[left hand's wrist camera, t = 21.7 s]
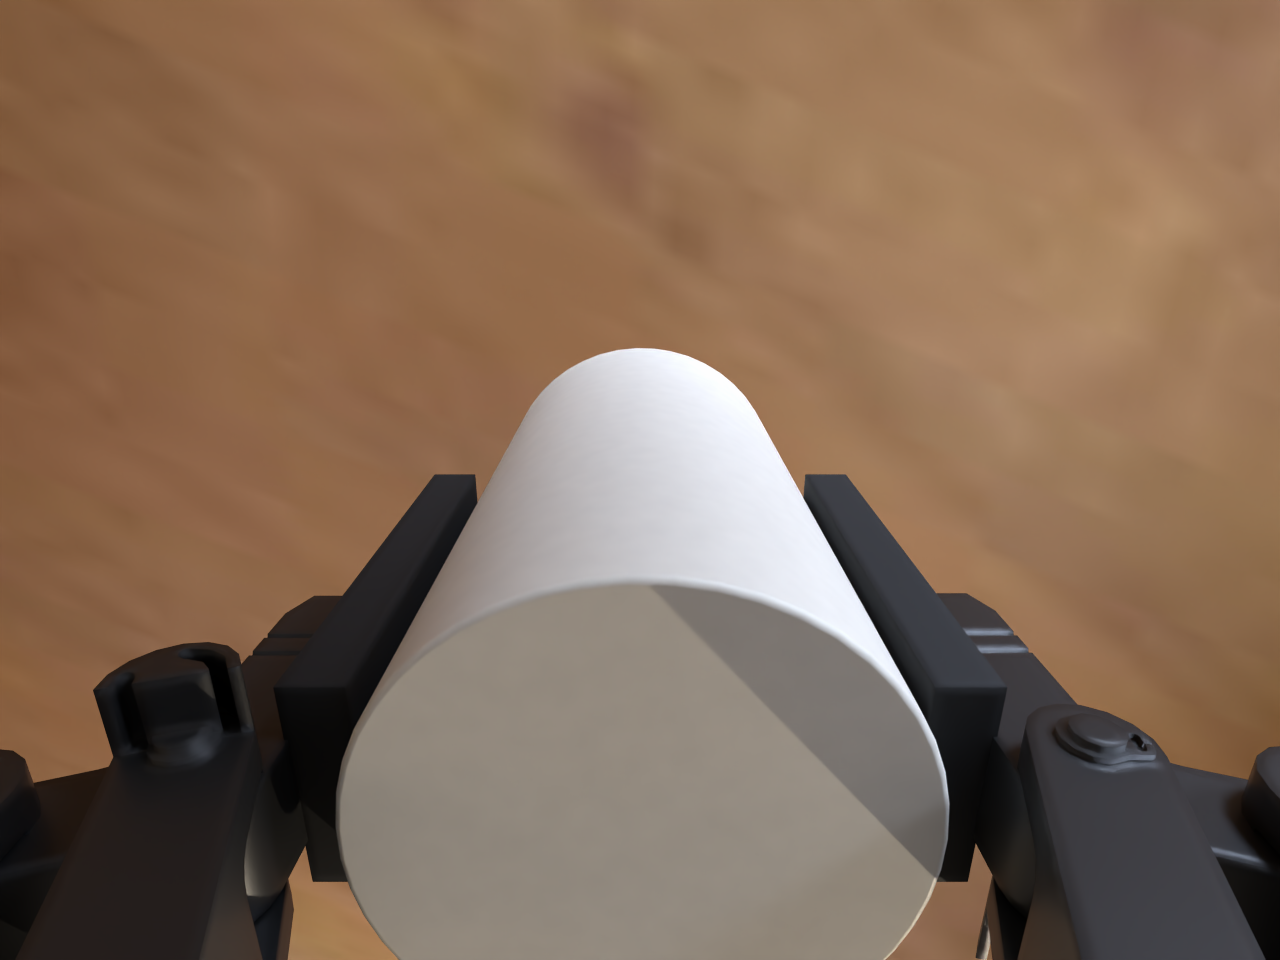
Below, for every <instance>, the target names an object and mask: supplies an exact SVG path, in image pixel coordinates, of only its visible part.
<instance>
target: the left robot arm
mask: <svg viewBox="0 0 1280 960" xmlns="http://www.w3.org/2000/svg"><path fill="white" fill-rule="evenodd" d="M803 499H804V500H805V502H806V504H807V506H808V508H809V509H810V511H811V513H812V515H813V517H814V518H815V520H816V522H817V524H818V526H819V527H820V529H821V531H822V533H823V535H824V536H825V538H826V540H827V542H828V544H829V545H830V547H831V549H832V551H833V553H834V555H835V556H836V558H837V560H838V562H839V564H840V565H841V567H842V569H843V571H844V573H845V574H846V576H847V578H848V580H849V582H850V583H851V585H852V587H853V589H854V591H855V592H856V594H857V596H858V598H859V600H860V601H861V603H862V605H863V607H864V609H865V610H866V612H867V614H868V616H869V618H870V619H871V621H872V623H873V625H874V627H875V629H876V630H877V632H878V634H879V636H880V638H881V639H882V641H883V643H884V645H885V647H886V648H887V650H888V652H889V654H890V656H891V657H892V659H893V661H894V663H895V665H896V666H897V668H898V670H899V672H900V674H901V675H902V677H903V679H904V681H905V683H906V684H907V686H908V688H909V690H910V692H911V693H912V695H913V697H914V699H915V701H916V702H917V704H918V706H919V708H920V710H921V712H922V714H923V716H924V718H925V720H926V722H927V724H928V726H929V728H930V730H931V732H932V734H933V736H934V738H935V740H936V743H937V746H938V749H939V752H940V756H941V759H942V762H943V766H944V769H945V772H946V780H947V788H948V796H949V824H948V841H947V845H946V850H945V855H944V859H943V864H942V868H941V871H940V874H939V877H938V879H937V882H968V878H969V873H970V868H971V863H972V858H973V853H974V848H975V843H976V844H977V846H978V848H979V850H980V852H981V854H982V856H983V858H984V860H985V861H986V863H987V865H988V867H989V869H990V871H991V873H992V875H993V876H992V880H991V885H990V889H989V894H988V898H987V903H986V907H985V912H984V917H983V921H982V926H981V930H980V935H979V939H978V945H977V952H976V958H978V959H982V960H987V955H988V951H989V946H990V944H991V950H992V958H993V960H1280V746H1279V747H1269V748H1267V749H1266V750H1265V751H1263V752H1262V753H1260V754H1259V755H1257V757H1256V760H1255V763H1254V766H1253V768H1252V771H1251V774H1250V777H1249V780H1246V779H1241V778H1237V777H1232V776H1227V775H1222V774H1217V773H1212V772H1208V771H1203V770H1198V769H1193V768H1188V767H1183V766H1180V765H1176V764H1172V763H1170V762H1169V760H1168V758H1167V756H1166V755H1165V753H1164V752H1163V751H1162V750H1161V748H1160V747H1159V746H1158V744H1157V743H1156V742H1155V741H1154V739H1152V738H1151V737H1150V736H1148V735H1147V734H1145V733H1144V732H1143V731H1141V730H1140V729H1139V728H1137V727H1136V726H1134V725H1133V724H1131V723H1129V722H1127V721H1125V720H1123V719H1120V718H1118V717H1116V716H1114V715H1112V714H1110V713H1107V712H1104V711H1100V710H1097V709H1093V708H1089V707H1086V706H1082V705H1077V704H1076V703H1075V701H1074V700H1073V699H1072V698H1071V697H1070V696H1069V695H1068V693H1067V692H1066V691H1065V690H1064V689H1063V688H1062V687H1061V685H1060V684H1059V683H1058V682H1057V681H1056V680H1055V679H1054V677H1053V676H1052V675H1051V674H1050V673H1049V672H1048V671H1047V669H1046V668H1045V667H1044V666H1043V665H1042V664H1041V663H1040V661H1039V660H1038V659H1037V658H1036V657H1035V656H1034V655H1033V653H1029V652H1028V648H1027V646H1026V645H1025V644H1024V643H1023V642H1022V641H1021V640H1020V638H1019V637H1018V636H1014V634H1013V630H1012V629H1011V628H1010V627H1009V626H1008V625H1007V624H1006V622H1005V621H1004V620H1003V619H1002V618H1001V617H1000V616H999V614H998V613H997V612H996V611H995V610H993V609H991V608H990V607H988V606H986V605H985V604H983V603H981V602H980V601H978V600H977V599H975V598H973V597H972V596H970V595H968V594H967V593H935V591H934V590H933V589H932V587H931V586H930V585H929V583H928V582H927V581H926V580H925V578H924V577H923V576H922V574H921V573H920V572H919V570H918V569H917V568H916V566H915V565H914V564H913V562H912V561H911V560H910V558H909V557H908V556H907V555H906V553H905V552H904V551H903V549H902V548H901V547H900V545H899V544H898V543H897V541H896V540H895V539H894V537H893V536H892V535H891V533H890V532H889V531H888V530H887V528H886V527H885V526H884V524H883V523H882V522H881V520H880V519H879V518H878V516H877V515H876V514H875V512H874V511H873V510H872V508H871V507H870V506H869V505H868V503H867V502H866V501H865V499H864V498H863V497H862V495H861V494H860V493H859V491H858V490H857V489H856V487H855V486H854V485H853V483H852V482H851V481H850V480H849V478H848V477H847V476H846V475H805V486H804V498H803ZM476 505H477V491H476V479H475V475H434V476H433V478H432V479H431V480H430V482H429V483H428V484H427V486H426V487H425V488H424V489H423V491H422V492H421V493H420V495H419V496H418V497H417V499H416V500H415V501H414V503H413V504H412V505H411V507H410V508H409V509H408V511H407V512H406V513H405V514H404V516H403V517H402V518H401V520H400V521H399V522H398V524H397V525H396V526H395V528H394V529H393V530H392V532H391V533H390V534H389V536H388V537H387V538H386V539H385V541H384V542H383V543H382V545H381V546H380V547H379V549H378V550H377V551H376V553H375V554H374V555H373V557H372V558H371V559H370V561H369V562H368V563H367V564H366V566H365V567H364V568H363V570H362V571H361V572H360V574H359V575H358V576H357V578H356V579H355V580H354V582H353V583H352V584H351V586H350V587H349V588H348V589H347V591H346V592H345V593H344V595H343V596H313V597H312V598H310V599H308V600H307V601H305V602H304V603H302V604H300V605H299V606H297V607H295V608H294V609H292V610H290V611H289V612H287V613H286V614H285V615H284V616H283V617H282V618H281V619H280V620H279V622H278V623H277V624H276V625H275V626H274V627H273V629H272V630H271V631H270V632H269V633H268V638H264V639H263V640H262V641H261V642H260V644H259V645H258V646H257V647H256V648H255V649H254V650H253V655H252V656H248V657H247V659H246V660H245V661H244V662H243V663H242V664H241V662H240V657H239V654H238V653H237V652H236V651H234V650H233V649H232V648H230V647H229V646H227V645H221V644H216V643H210V642H203V643H187V644H180V645H176V646H172V647H168V648H163V649H159V650H155V651H153V652H151V653H148V654H146V655H143V656H141V657H138V658H136V659H133V660H131V661H129V662H127V663H125V664H124V665H122V666H121V667H119V668H117V669H116V670H114V671H113V672H111V673H109V674H108V675H107V676H106V677H105V678H104V679H103V680H102V681H101V682H100V683H99V684H98V685H97V686H96V687H95V689H94V690H93V692H94V695H95V698H96V701H97V705H98V708H99V711H100V715H101V718H102V721H103V724H104V728H105V731H106V734H107V737H108V741H109V744H110V747H111V751H112V754H113V759H112V761H111V763H110V765H109V767H106V768H102V769H99V770H94V771H89V772H84V773H79V774H75V775H70V776H65V777H60V778H55V779H50V780H46V781H41V782H36V783H33V780H32V778H31V775H30V772H29V769H28V766H27V764H26V761H25V759H24V758H23V757H21V756H20V755H18V754H17V753H16V752H14V751H11V750H0V960H288V952H289V944H290V936H291V928H292V920H293V912H294V908H293V901H292V894H291V889H290V885H289V880H288V878H289V876H290V874H291V872H292V870H293V868H294V866H295V864H296V863H297V861H298V859H299V857H300V855H301V853H302V851H303V849H304V847H305V846H306V851H307V855H308V860H309V865H310V870H311V875H312V880H313V882H348V880H347V877H346V874H345V871H344V868H343V865H342V862H341V859H340V852H339V846H338V839H337V833H336V790H337V785H338V779H339V774H340V769H341V764H342V759H343V757H344V754H345V751H346V749H347V746H348V743H349V741H350V738H351V735H352V733H353V730H354V728H355V726H356V724H357V722H358V720H359V719H360V717H361V715H362V713H363V711H364V709H365V708H366V706H367V704H368V702H369V700H370V699H371V697H372V695H373V693H374V691H375V689H376V688H377V686H378V684H379V682H380V680H381V678H382V677H383V675H384V673H385V671H386V669H387V667H388V666H389V664H390V662H391V660H392V658H393V656H394V655H395V653H396V651H397V649H398V647H399V646H400V644H401V642H402V640H403V638H404V636H405V635H406V633H407V631H408V629H409V627H410V625H411V624H412V622H413V620H414V618H415V616H416V614H417V613H418V611H419V609H420V607H421V605H422V603H423V602H424V600H425V598H426V596H427V594H428V592H429V591H430V589H431V587H432V585H433V583H434V582H435V580H436V578H437V576H438V574H439V572H440V571H441V569H442V567H443V565H444V563H445V561H446V560H447V558H448V556H449V554H450V552H451V550H452V549H453V547H454V545H455V543H456V541H457V539H458V538H459V536H460V534H461V532H462V530H463V529H464V527H465V525H466V523H467V521H468V519H469V518H470V516H471V514H472V512H473V510H474V508H475V507H476Z"/></svg>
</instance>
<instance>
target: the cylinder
mask: <svg viewBox="0 0 1280 960" xmlns="http://www.w3.org/2000/svg"><path fill="white" fill-rule="evenodd" d="M948 824H949V796H948V788H947V780H946V772H945V769H944V766H943V762H942V759H941V756H940V752H939V749H938V746H937V743H936V740H935V738H934V736H933V734H932V732H931V730H930V728H929V726H928V724H927V722H926V720H925V718H924V716H923V714H922V712H921V710H920V708H919V706H918V704H917V702H916V701H915V699H914V697H913V695H912V693H911V692H910V690H909V688H908V686H907V684H906V683H905V681H904V679H903V677H902V675H901V674H900V672H899V670H898V668H897V666H896V665H895V663H894V661H893V659H892V657H891V656H890V654H889V652H888V650H887V648H886V647H885V645H884V643H883V641H882V639H881V638H880V636H879V634H878V632H877V630H876V629H875V627H874V625H873V623H872V621H871V619H870V618H869V616H868V614H867V612H866V610H865V609H864V607H863V605H862V603H861V601H860V600H859V598H858V596H857V594H856V592H855V591H854V589H853V587H852V585H851V583H850V582H849V580H848V578H847V576H846V574H845V573H844V571H843V569H842V567H841V565H840V564H839V562H838V560H837V558H836V556H835V555H834V553H833V551H832V549H831V547H830V545H829V544H828V542H827V540H826V538H825V536H824V535H823V533H822V531H821V529H820V527H819V526H818V524H817V522H816V520H815V518H814V517H813V515H812V513H811V511H810V509H809V508H808V506H807V504H806V502H805V500H804V499H803V497H802V495H801V493H800V491H799V490H798V488H797V486H796V484H795V482H794V481H793V479H792V477H791V475H790V473H789V472H788V470H787V468H786V466H785V464H784V462H783V461H782V459H781V457H780V455H779V453H778V452H777V450H776V448H775V446H774V444H773V443H772V441H771V439H770V437H769V435H768V434H767V432H766V430H765V428H764V426H763V425H762V423H761V421H760V419H759V417H758V416H757V414H756V412H755V410H754V409H753V407H752V406H751V404H750V403H749V402H748V400H747V399H746V397H745V396H744V395H743V394H742V393H741V392H740V391H739V390H738V388H737V387H736V386H735V385H734V384H733V383H732V382H730V381H729V380H728V379H727V378H725V377H724V376H723V375H722V374H721V373H719V372H718V371H716V370H714V369H713V368H711V367H709V366H708V365H706V364H704V363H702V362H700V361H698V360H695V359H693V358H691V357H689V356H685V355H682V354H678V353H675V352H672V351H665V350H659V349H645V348H633V349H624V350H616V351H612V352H608V353H604V354H600V355H597V356H595V357H592V358H590V359H587V360H585V361H582V362H581V363H579V364H577V365H575V366H573V367H572V368H570V369H568V370H567V371H565V372H564V373H563V374H561V375H560V376H559V377H557V378H556V379H554V380H553V381H552V382H551V383H550V384H549V385H548V386H547V387H546V388H545V389H544V390H543V391H542V392H541V393H540V395H539V396H538V397H537V399H536V400H535V401H534V402H533V404H532V405H531V407H530V408H529V410H528V412H527V414H526V415H525V417H524V419H523V421H522V422H521V424H520V426H519V428H518V430H517V432H516V433H515V435H514V437H513V439H512V441H511V443H510V444H509V446H508V448H507V450H506V452H505V454H504V455H503V457H502V459H501V461H500V463H499V465H498V466H497V468H496V470H495V472H494V474H493V475H492V477H491V479H490V481H489V483H488V485H487V486H486V488H485V490H484V492H483V494H482V496H481V497H480V499H479V501H478V503H477V505H476V507H475V508H474V510H473V512H472V514H471V516H470V518H469V519H468V521H467V523H466V525H465V527H464V529H463V530H462V532H461V534H460V536H459V538H458V539H457V541H456V543H455V545H454V547H453V549H452V550H451V552H450V554H449V556H448V558H447V560H446V561H445V563H444V565H443V567H442V569H441V571H440V572H439V574H438V576H437V578H436V580H435V582H434V583H433V585H432V587H431V589H430V591H429V592H428V594H427V596H426V598H425V600H424V602H423V603H422V605H421V607H420V609H419V611H418V613H417V614H416V616H415V618H414V620H413V622H412V624H411V625H410V627H409V629H408V631H407V633H406V635H405V636H404V638H403V640H402V642H401V644H400V646H399V647H398V649H397V651H396V653H395V655H394V656H393V658H392V660H391V662H390V664H389V666H388V667H387V669H386V671H385V673H384V675H383V677H382V678H381V680H380V682H379V684H378V686H377V688H376V689H375V691H374V693H373V695H372V697H371V699H370V700H369V702H368V704H367V706H366V708H365V709H364V711H363V713H362V715H361V717H360V719H359V720H358V722H357V724H356V726H355V728H354V730H353V733H352V735H351V738H350V741H349V743H348V746H347V749H346V751H345V754H344V757H343V759H342V764H341V769H340V774H339V779H338V785H337V790H336V833H337V839H338V846H339V852H340V859H341V862H342V865H343V868H344V871H345V874H346V877H347V880H348V883H349V886H350V889H351V891H352V893H353V895H354V897H355V899H356V901H357V903H358V905H359V907H360V909H361V911H362V913H363V915H364V916H365V918H366V919H367V921H368V922H369V923H370V925H371V926H372V928H373V929H374V931H375V932H376V933H377V935H378V936H379V938H380V939H381V940H382V942H383V943H384V944H385V945H386V946H387V947H388V948H389V949H390V950H391V951H392V953H393V954H394V955H395V956H396V957H397V958H398V959H399V960H885V959H887V958H888V957H889V956H890V955H891V954H892V953H893V952H894V951H895V949H896V948H897V947H898V946H899V944H900V943H901V942H902V941H903V939H904V938H905V937H906V935H907V934H908V933H909V932H910V930H911V929H912V928H913V926H914V925H915V923H916V922H917V920H918V918H919V916H920V915H921V913H922V911H923V910H924V908H925V906H926V904H927V903H928V901H929V899H930V897H931V894H932V892H933V889H934V887H935V884H936V882H937V879H938V877H939V874H940V871H941V868H942V864H943V859H944V855H945V850H946V845H947V841H948Z"/></svg>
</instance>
